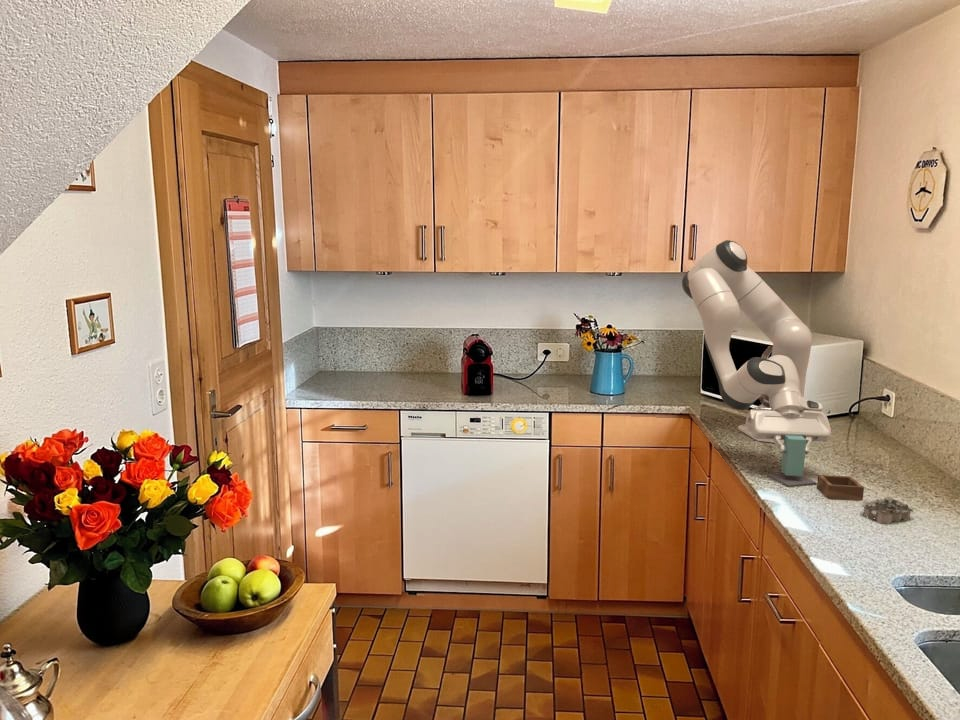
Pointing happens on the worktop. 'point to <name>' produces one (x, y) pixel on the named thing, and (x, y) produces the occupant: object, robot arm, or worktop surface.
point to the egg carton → (886, 510)
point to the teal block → (794, 455)
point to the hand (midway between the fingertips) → (794, 452)
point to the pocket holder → (840, 487)
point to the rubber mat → (791, 480)
